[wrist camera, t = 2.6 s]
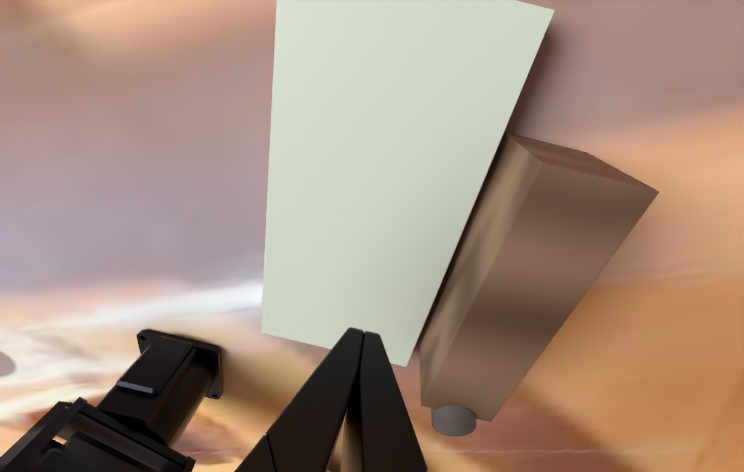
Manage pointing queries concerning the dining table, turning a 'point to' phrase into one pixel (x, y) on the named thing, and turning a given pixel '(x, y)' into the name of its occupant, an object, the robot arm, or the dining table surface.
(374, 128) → the pale green flat block
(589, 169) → the folding leg
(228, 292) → the dining table surface
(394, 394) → the robot arm
